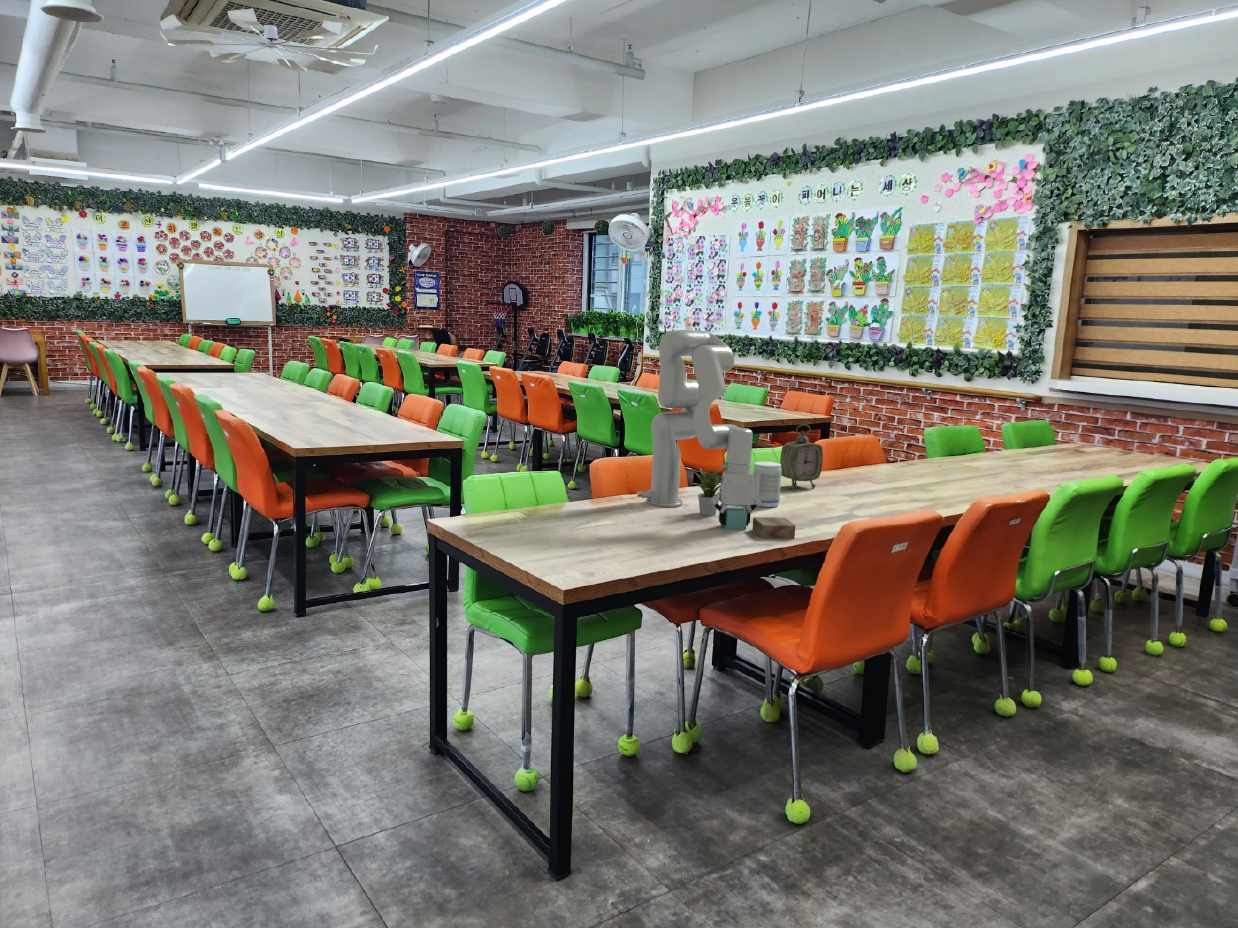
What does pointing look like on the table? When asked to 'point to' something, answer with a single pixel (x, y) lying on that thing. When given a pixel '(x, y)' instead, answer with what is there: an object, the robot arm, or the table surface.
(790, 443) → the tabletop clock
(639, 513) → the table surface
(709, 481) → the house plant
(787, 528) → the walnut base
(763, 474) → the supplement tub
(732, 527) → the teal cube
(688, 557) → the table surface
